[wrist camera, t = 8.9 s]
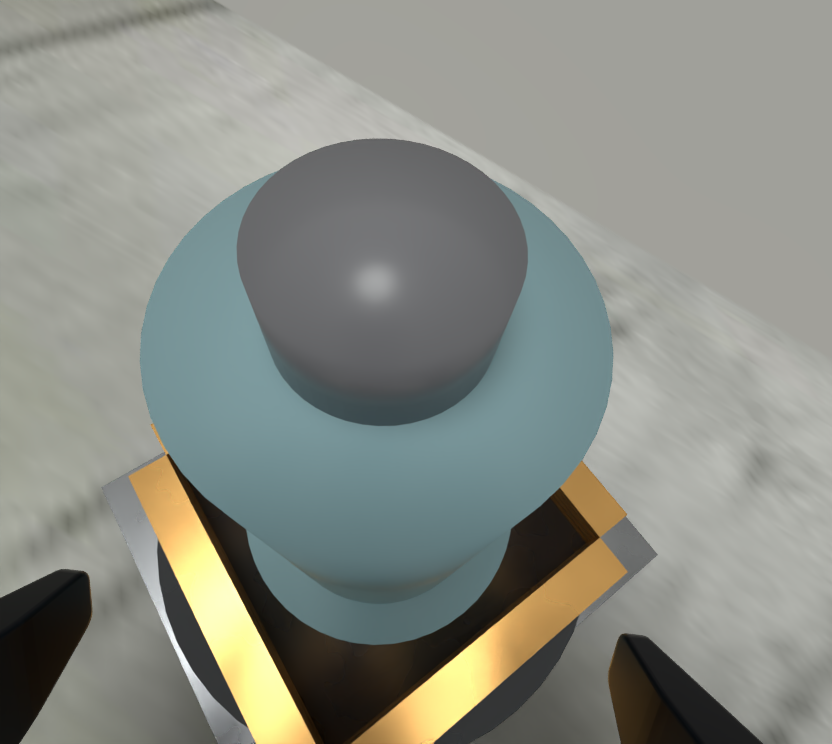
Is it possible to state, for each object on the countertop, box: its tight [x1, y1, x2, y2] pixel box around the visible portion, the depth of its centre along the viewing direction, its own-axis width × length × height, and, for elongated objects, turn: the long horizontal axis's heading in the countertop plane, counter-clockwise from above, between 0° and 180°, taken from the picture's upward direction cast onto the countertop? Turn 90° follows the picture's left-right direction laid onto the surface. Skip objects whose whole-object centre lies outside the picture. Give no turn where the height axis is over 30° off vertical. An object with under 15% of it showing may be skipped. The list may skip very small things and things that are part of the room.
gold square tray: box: [101, 424, 658, 744], centre depth 18 cm, size 16×14×5 cm
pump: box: [140, 139, 613, 645], centre depth 11 cm, size 9×8×13 cm
